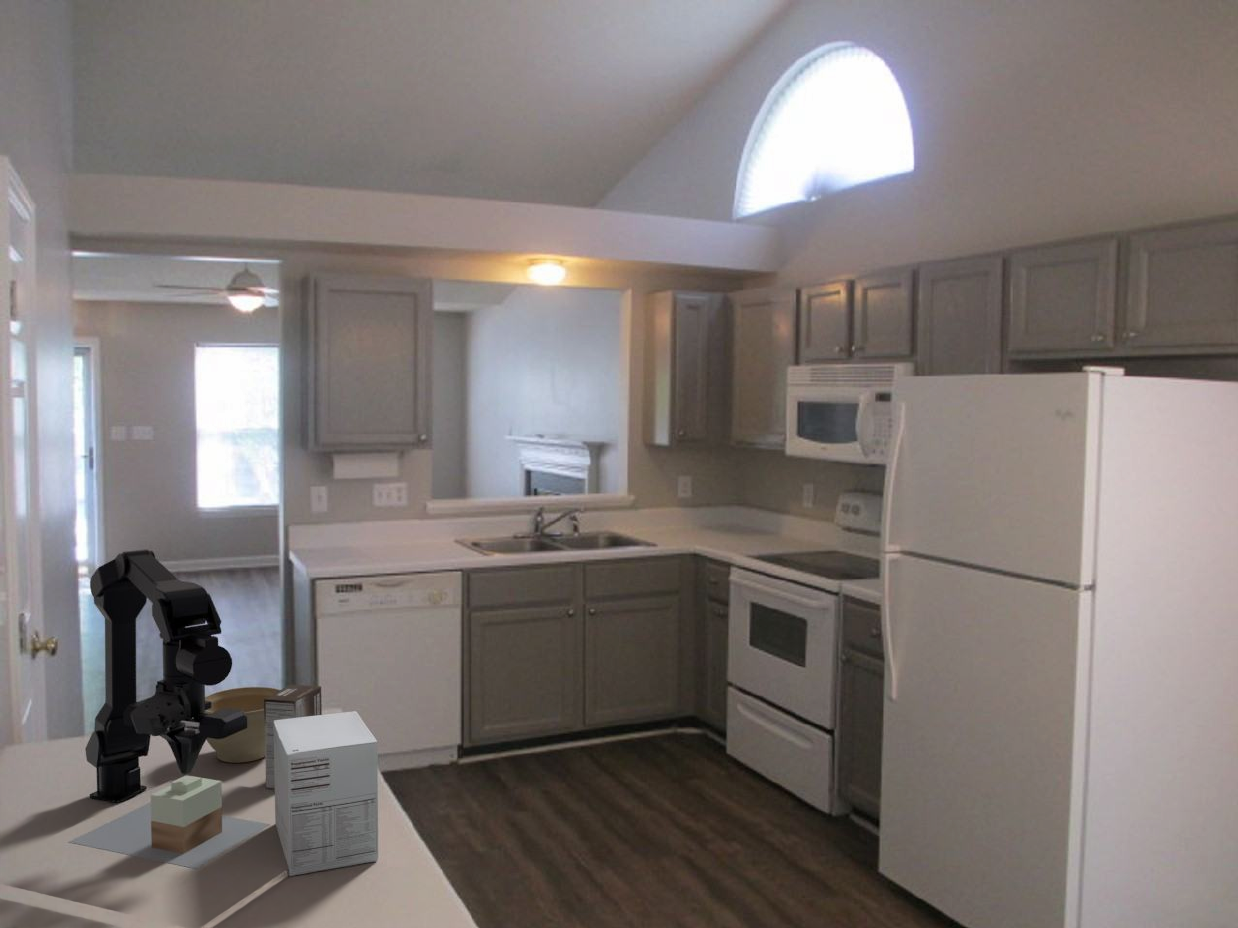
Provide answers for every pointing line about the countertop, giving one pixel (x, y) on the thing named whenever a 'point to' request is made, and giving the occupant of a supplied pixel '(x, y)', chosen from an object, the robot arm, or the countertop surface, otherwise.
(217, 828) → the lower brick
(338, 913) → the countertop surface
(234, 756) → the planter bowl
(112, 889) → the countertop surface
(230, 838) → the base plate
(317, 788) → the supplement box
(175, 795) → the upper brick
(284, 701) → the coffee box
